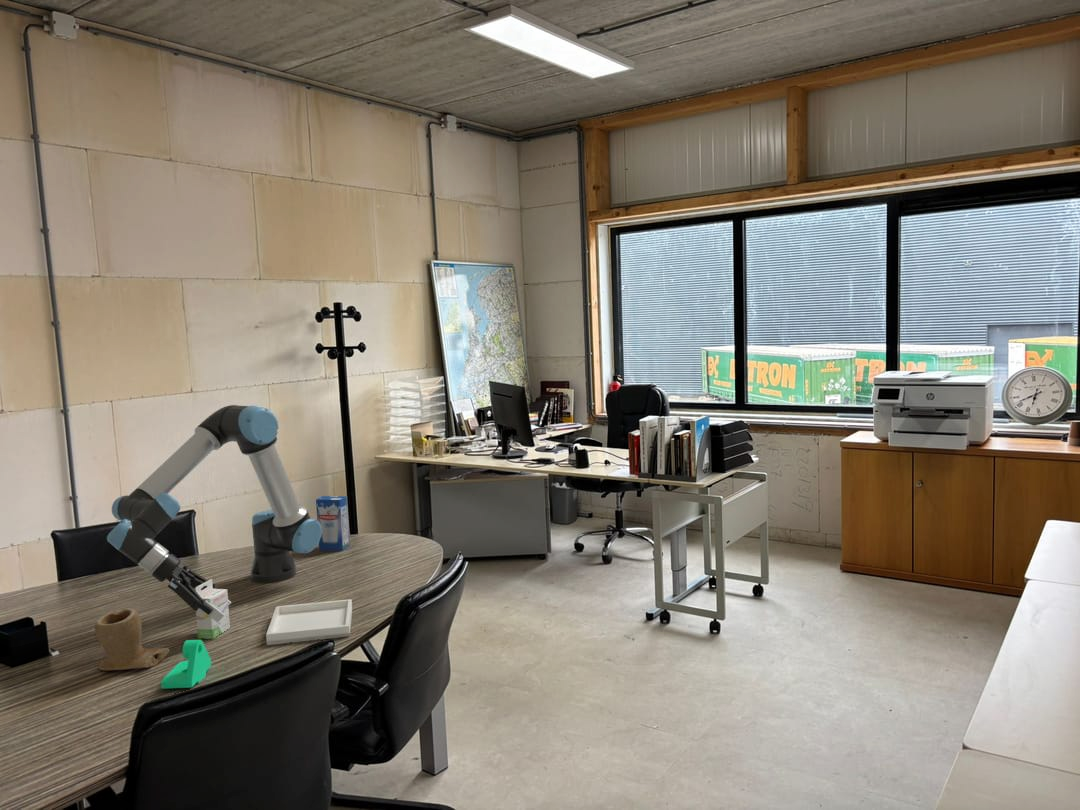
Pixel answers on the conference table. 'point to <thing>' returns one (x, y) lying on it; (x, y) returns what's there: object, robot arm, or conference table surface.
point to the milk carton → (333, 522)
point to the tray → (310, 622)
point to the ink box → (219, 600)
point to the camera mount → (189, 666)
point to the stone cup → (125, 642)
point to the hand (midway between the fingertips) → (224, 612)
